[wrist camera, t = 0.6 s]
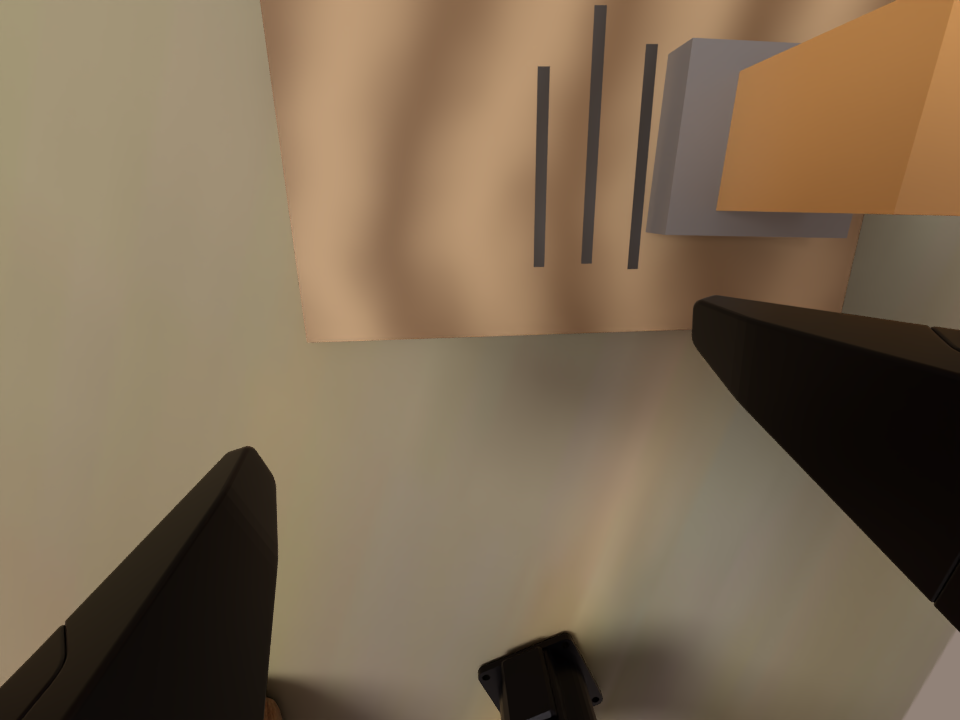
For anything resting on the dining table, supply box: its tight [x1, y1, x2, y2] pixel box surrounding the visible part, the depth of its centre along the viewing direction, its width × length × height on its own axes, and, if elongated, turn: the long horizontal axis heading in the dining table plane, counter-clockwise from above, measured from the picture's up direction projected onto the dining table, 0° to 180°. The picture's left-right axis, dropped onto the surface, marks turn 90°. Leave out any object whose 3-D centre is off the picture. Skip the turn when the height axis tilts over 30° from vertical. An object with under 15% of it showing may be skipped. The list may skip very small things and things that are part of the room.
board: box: [260, 0, 896, 342], centre depth 20 cm, size 26×16×1 cm, turn 91°
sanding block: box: [646, 0, 960, 238], centre depth 16 cm, size 8×7×10 cm
